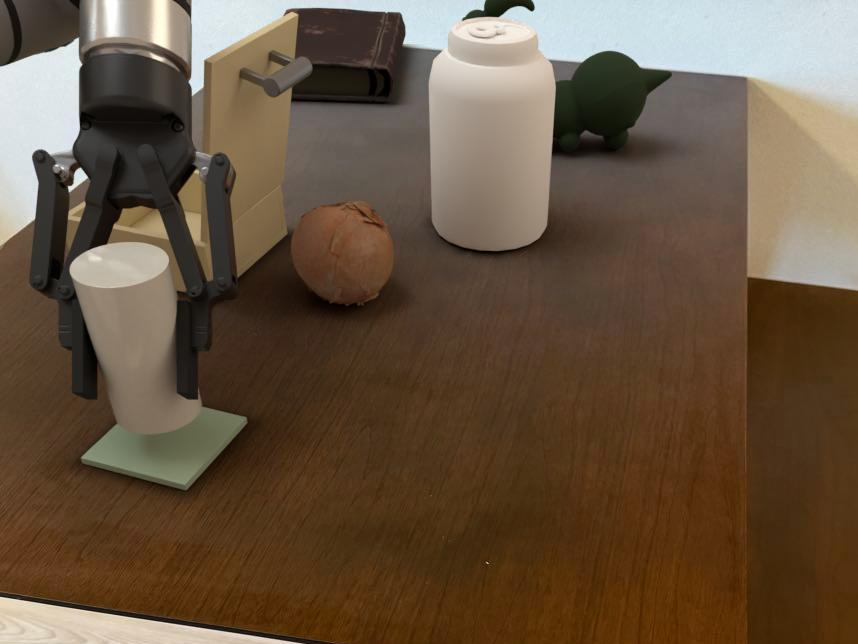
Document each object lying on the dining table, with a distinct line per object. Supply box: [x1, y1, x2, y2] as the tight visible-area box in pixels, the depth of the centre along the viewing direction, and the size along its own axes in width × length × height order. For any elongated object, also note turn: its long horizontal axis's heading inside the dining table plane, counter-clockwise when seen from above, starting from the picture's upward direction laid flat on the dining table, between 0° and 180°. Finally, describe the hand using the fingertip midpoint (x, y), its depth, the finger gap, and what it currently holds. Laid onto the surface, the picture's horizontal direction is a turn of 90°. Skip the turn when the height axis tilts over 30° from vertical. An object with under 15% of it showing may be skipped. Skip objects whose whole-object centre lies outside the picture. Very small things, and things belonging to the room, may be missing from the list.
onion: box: [290, 199, 395, 307], centre depth 90 cm, size 10×9×10 cm
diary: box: [282, 7, 407, 103], centre depth 137 cm, size 19×25×5 cm
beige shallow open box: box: [66, 170, 288, 293], centre depth 96 cm, size 16×15×5 cm
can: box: [428, 16, 556, 252], centre depth 98 cm, size 12×12×20 cm
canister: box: [69, 242, 203, 434], centre depth 69 cm, size 6×6×12 cm
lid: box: [200, 12, 312, 244], centre depth 87 cm, size 16×15×4 cm
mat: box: [80, 406, 248, 491], centre depth 75 cm, size 9×9×1 cm
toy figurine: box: [461, 0, 673, 152], centre depth 116 cm, size 9×19×25 cm
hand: (136, 395), depth 68 cm, fingers closed on canister, 6 cm apart
